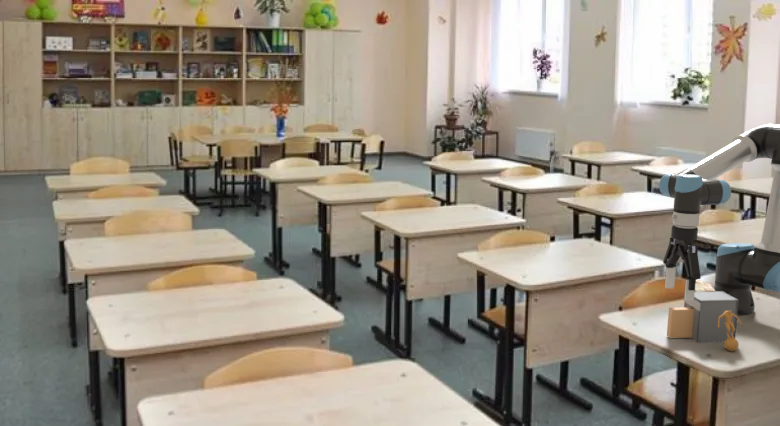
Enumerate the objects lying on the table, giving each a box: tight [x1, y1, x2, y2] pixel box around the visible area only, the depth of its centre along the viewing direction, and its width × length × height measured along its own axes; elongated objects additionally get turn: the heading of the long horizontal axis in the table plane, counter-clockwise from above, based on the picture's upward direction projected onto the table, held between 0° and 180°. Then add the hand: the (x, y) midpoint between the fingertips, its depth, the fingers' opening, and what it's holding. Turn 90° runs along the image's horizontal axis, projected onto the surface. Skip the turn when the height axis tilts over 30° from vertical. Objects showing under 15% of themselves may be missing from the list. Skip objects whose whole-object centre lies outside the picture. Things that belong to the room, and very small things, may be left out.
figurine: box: [718, 310, 743, 352], centre depth 250 cm, size 8×6×12 cm
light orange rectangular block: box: [666, 306, 695, 339], centre depth 261 cm, size 14×2×9 cm, turn 96°
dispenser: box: [683, 291, 739, 344], centre depth 262 cm, size 12×10×13 cm
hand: (678, 294), depth 259 cm, fingers open, 13 cm apart
